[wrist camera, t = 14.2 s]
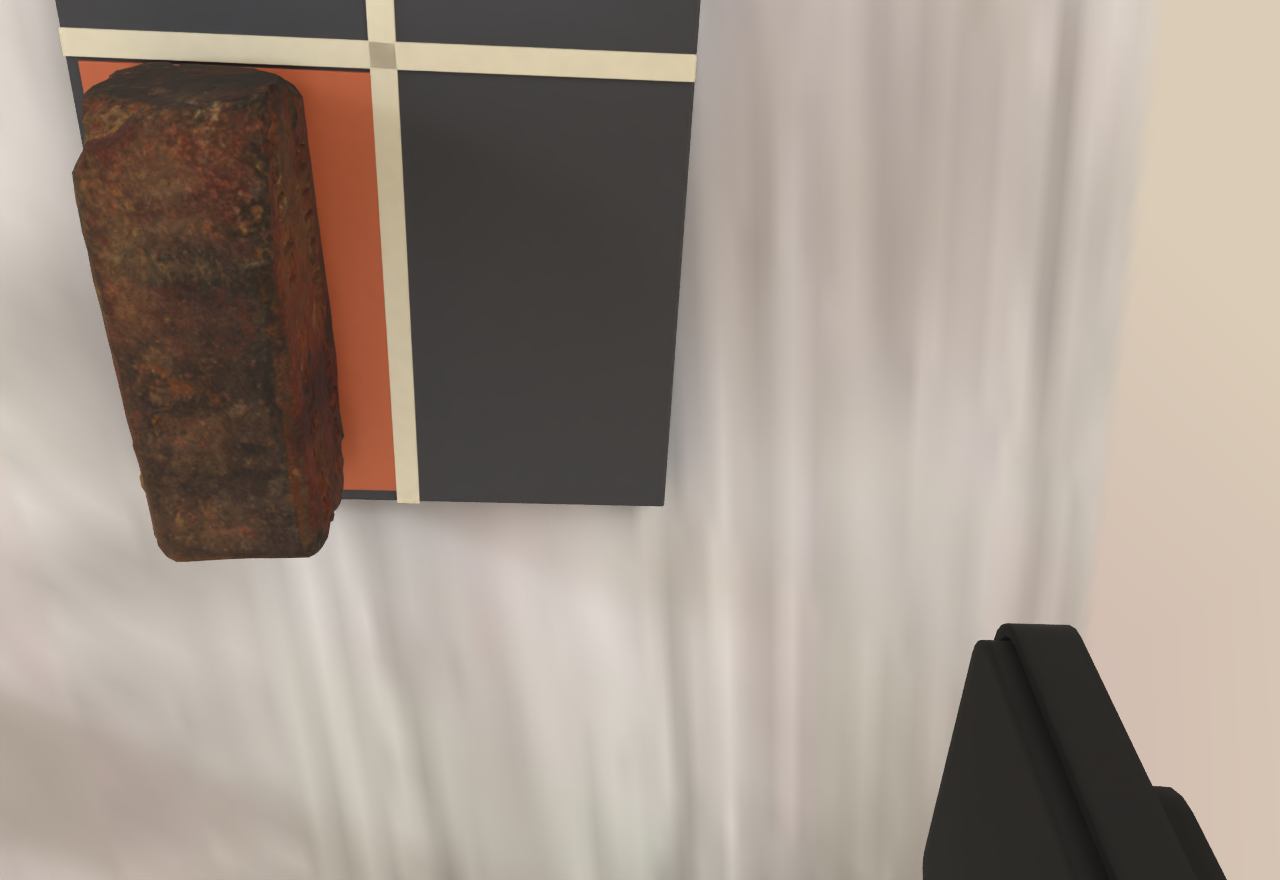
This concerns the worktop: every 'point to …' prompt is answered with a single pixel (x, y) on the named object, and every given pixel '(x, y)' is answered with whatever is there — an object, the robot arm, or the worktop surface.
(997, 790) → the robot arm
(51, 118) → the worktop surface
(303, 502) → the brick
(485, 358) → the board
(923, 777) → the worktop surface
